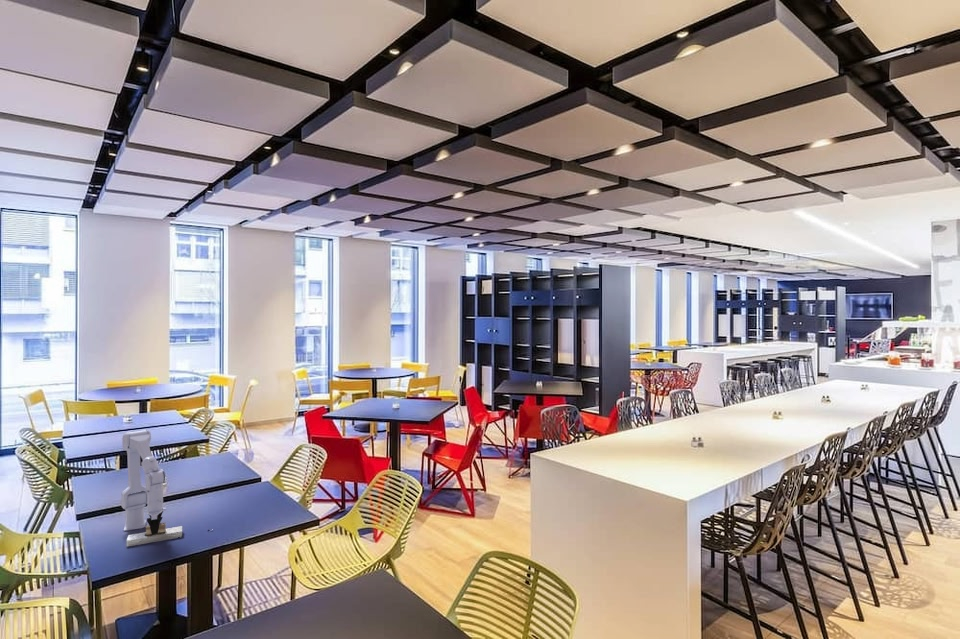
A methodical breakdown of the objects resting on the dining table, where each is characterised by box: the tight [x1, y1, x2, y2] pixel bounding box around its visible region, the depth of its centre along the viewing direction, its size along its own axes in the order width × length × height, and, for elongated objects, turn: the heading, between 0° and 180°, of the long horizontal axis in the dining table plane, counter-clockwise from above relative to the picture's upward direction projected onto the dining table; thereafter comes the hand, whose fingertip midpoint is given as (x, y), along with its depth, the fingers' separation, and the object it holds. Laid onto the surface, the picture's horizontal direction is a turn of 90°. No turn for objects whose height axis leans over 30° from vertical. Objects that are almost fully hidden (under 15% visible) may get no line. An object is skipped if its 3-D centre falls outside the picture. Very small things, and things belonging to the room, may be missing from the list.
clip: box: [145, 521, 166, 536], centre depth 225 cm, size 3×7×6 cm, turn 119°
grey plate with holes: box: [126, 525, 183, 548], centre depth 225 cm, size 7×20×2 cm, turn 119°
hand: (155, 531), depth 225 cm, fingers open, 7 cm apart
